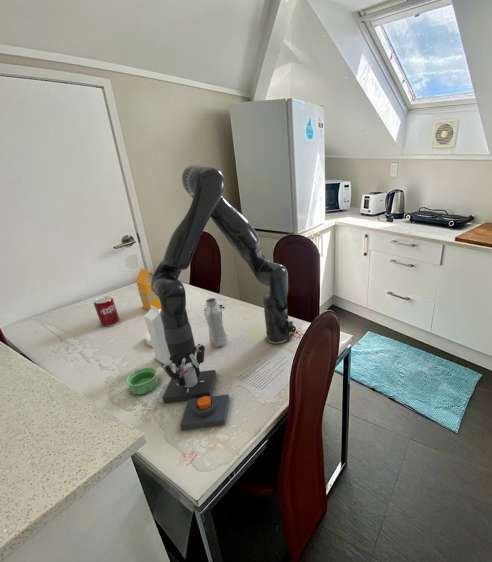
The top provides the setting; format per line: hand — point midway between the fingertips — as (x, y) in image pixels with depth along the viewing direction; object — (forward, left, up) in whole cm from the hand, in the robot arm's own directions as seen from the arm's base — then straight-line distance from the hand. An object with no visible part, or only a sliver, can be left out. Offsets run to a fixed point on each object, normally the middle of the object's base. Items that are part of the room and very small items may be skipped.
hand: (189, 380), depth 102 cm
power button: (-7, +12, 0) cm, 14 cm away
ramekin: (+16, -4, -4) cm, 17 cm away
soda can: (+47, -51, -4) cm, 70 cm away
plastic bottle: (-5, -25, -4) cm, 26 cm away
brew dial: (0, 0, -1) cm, 1 cm away
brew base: (0, 0, -4) cm, 4 cm away
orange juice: (+32, -64, -4) cm, 72 cm away
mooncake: (+19, -33, -4) cm, 38 cm away
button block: (-7, +12, -4) cm, 14 cm away
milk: (+13, -19, -4) cm, 23 cm away
